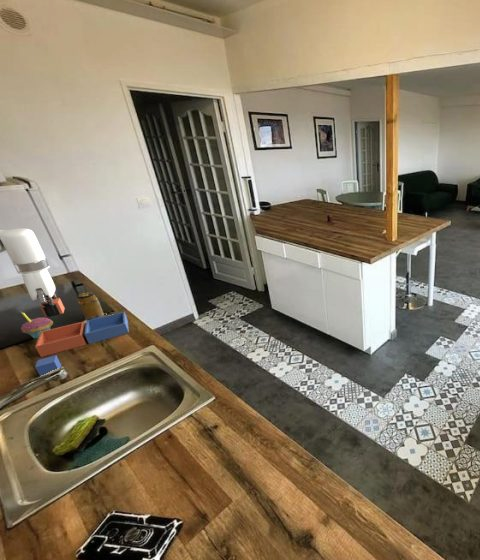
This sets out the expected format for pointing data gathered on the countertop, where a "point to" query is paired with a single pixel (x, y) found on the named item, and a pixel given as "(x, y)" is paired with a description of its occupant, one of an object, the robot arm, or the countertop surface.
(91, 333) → the blue bin
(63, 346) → the terracotta bin
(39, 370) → the blue block
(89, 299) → the condiment
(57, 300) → the terracotta block
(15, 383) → the countertop surface
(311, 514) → the countertop surface
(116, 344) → the countertop surface
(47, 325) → the cupcake
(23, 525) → the countertop surface
